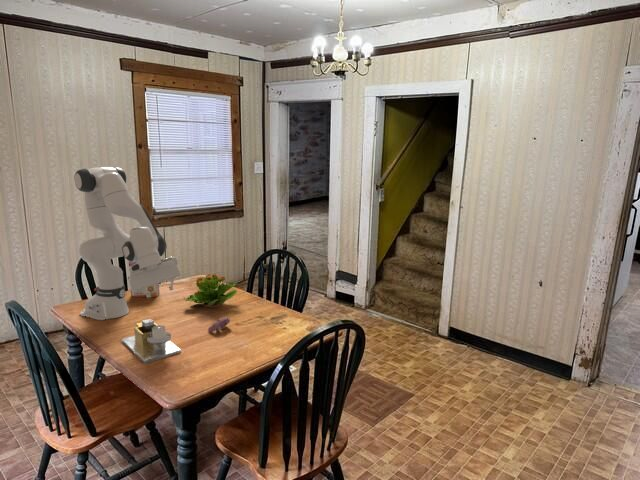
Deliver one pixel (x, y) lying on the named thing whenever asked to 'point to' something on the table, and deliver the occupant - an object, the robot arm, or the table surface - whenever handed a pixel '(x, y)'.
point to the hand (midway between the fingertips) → (160, 293)
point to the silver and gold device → (151, 343)
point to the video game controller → (219, 324)
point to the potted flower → (212, 291)
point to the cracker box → (150, 289)
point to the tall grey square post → (147, 325)
